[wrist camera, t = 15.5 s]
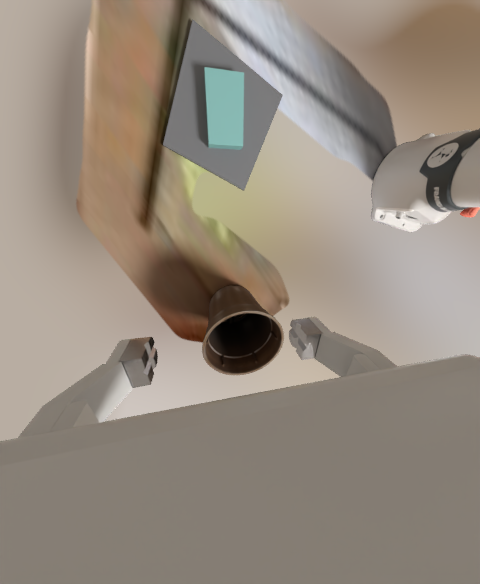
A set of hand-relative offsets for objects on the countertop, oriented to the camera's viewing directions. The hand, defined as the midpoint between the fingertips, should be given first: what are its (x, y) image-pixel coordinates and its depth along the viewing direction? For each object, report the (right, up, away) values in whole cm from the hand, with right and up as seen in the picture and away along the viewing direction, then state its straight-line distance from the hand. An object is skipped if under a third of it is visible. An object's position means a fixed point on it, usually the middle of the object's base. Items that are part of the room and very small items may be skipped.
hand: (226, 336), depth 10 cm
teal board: (-2, +29, +21) cm, 36 cm away
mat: (-2, +33, +21) cm, 39 cm away
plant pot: (-1, -1, +38) cm, 38 cm away
